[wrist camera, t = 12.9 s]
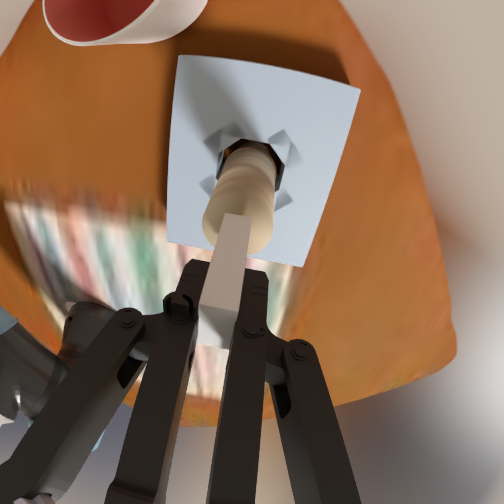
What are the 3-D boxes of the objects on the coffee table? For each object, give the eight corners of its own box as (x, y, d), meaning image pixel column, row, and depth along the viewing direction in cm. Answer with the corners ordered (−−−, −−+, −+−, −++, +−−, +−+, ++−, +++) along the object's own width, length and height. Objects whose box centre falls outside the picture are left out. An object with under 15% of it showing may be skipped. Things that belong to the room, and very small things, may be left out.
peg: (226, 174, 28) (197, 249, 18) (233, 131, 25) (203, 187, 16) (271, 182, 28) (266, 262, 19) (280, 140, 25) (282, 202, 16)
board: (176, 223, 32) (166, 241, 29) (191, 54, 21) (178, 55, 18) (300, 246, 32) (302, 267, 30) (350, 84, 21) (360, 89, 19)
